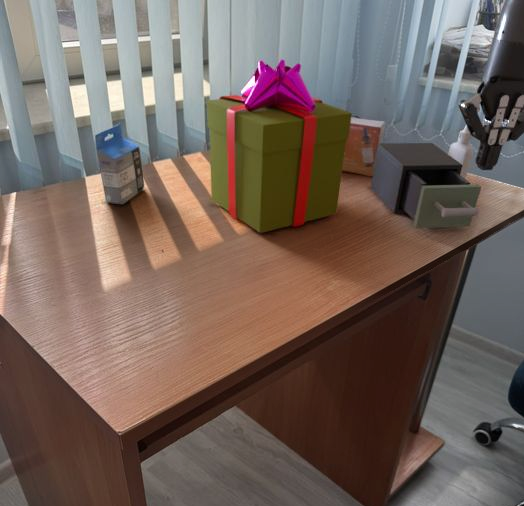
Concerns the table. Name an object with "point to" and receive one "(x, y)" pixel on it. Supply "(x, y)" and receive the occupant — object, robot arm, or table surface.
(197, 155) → the table surface
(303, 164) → the gift box
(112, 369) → the table surface
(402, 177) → the cabinet
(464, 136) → the eye dropper bottle
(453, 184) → the drawer
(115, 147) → the label tape box
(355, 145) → the small box
